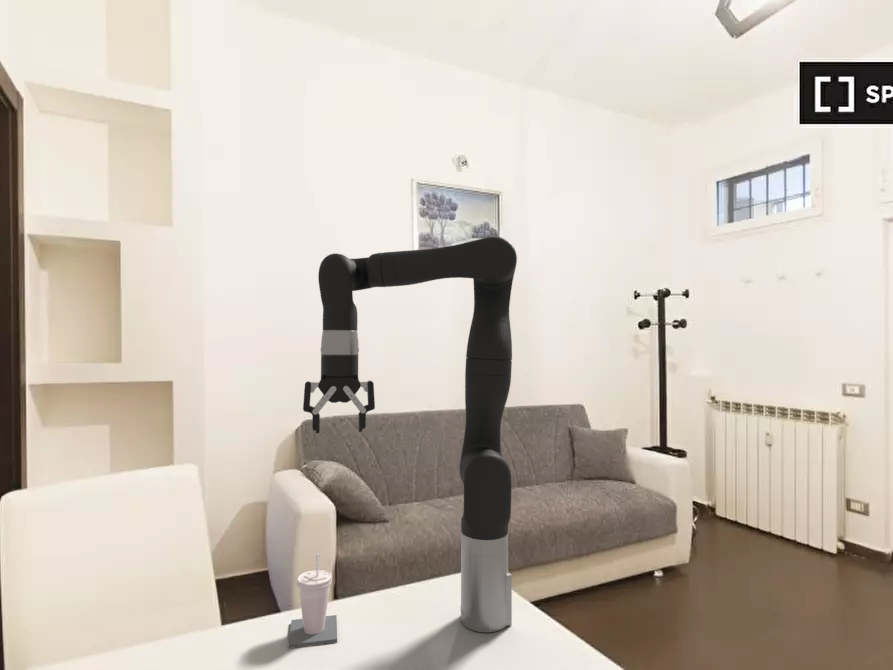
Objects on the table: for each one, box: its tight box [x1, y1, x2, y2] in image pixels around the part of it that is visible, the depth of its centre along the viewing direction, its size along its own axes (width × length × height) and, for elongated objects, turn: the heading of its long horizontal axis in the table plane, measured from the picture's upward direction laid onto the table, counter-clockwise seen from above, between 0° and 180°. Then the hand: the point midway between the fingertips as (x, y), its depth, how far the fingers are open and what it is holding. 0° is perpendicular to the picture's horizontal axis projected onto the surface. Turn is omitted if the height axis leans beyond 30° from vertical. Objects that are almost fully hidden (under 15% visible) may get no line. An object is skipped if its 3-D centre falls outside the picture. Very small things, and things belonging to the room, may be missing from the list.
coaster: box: [287, 614, 338, 649], centre depth 96 cm, size 8×8×1 cm
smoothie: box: [296, 552, 333, 635], centre depth 96 cm, size 6×6×14 cm
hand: (339, 432), depth 105 cm, fingers open, 8 cm apart
